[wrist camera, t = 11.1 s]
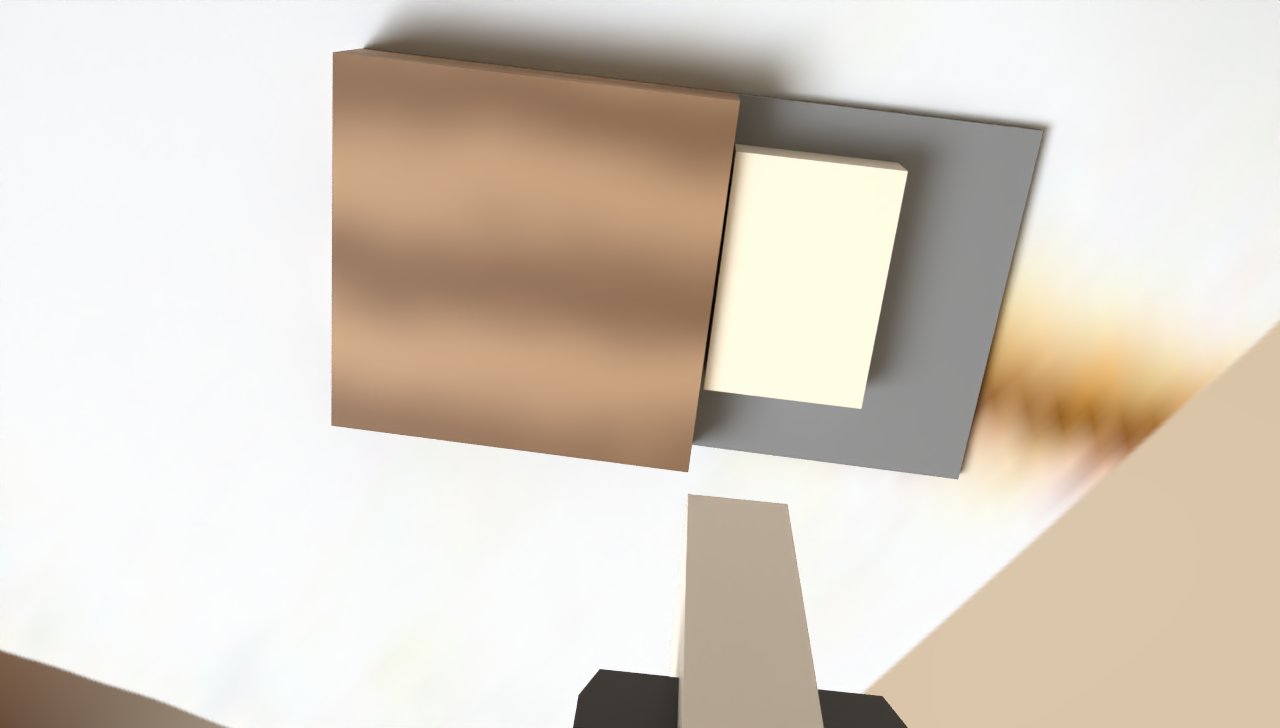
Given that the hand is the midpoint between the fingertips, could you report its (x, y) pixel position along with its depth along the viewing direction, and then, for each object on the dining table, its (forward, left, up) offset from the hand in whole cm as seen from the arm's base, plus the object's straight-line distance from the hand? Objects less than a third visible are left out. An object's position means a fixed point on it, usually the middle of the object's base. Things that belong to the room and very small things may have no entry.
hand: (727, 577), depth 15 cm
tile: (+1, +3, -24) cm, 24 cm away
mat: (+2, +5, -25) cm, 25 cm away
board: (+2, -7, -25) cm, 26 cm away
